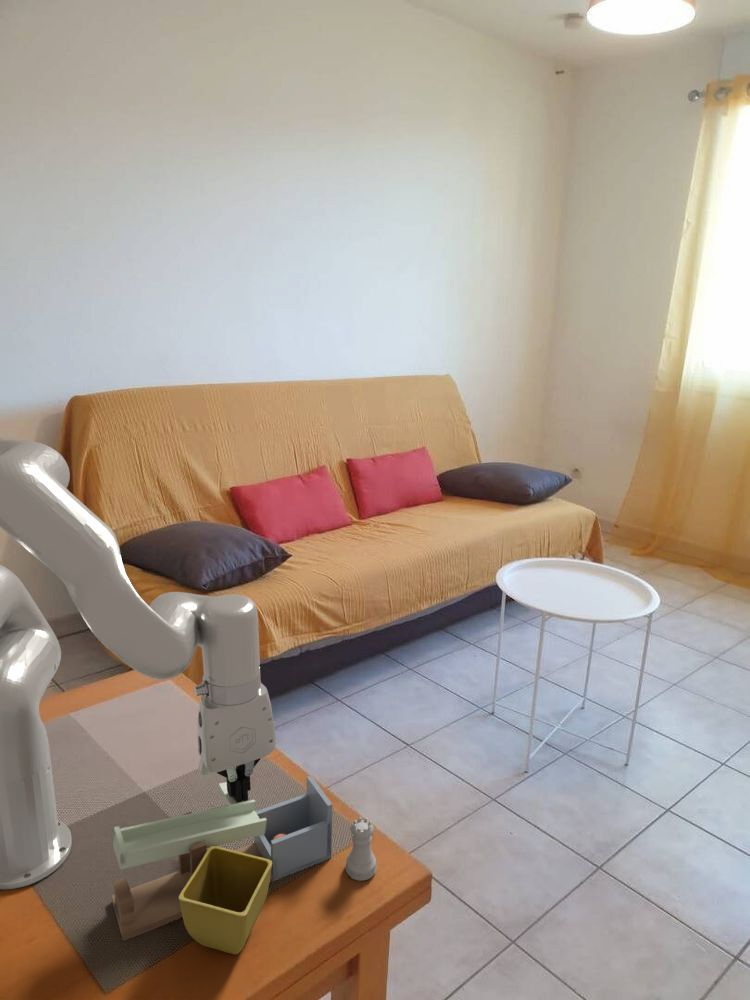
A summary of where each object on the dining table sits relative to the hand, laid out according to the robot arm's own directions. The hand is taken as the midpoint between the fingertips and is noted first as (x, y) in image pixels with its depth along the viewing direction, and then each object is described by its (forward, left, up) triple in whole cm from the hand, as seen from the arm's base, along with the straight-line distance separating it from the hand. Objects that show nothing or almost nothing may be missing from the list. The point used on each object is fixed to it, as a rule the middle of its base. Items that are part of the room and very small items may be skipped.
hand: (239, 796), depth 103 cm
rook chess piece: (+13, +13, -9) cm, 20 cm away
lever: (+2, -9, 0) cm, 9 cm away
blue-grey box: (+5, +6, -8) cm, 12 cm away
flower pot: (+14, -7, -9) cm, 18 cm away
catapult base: (+5, -8, -8) cm, 13 cm away
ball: (+5, +4, -6) cm, 9 cm away
